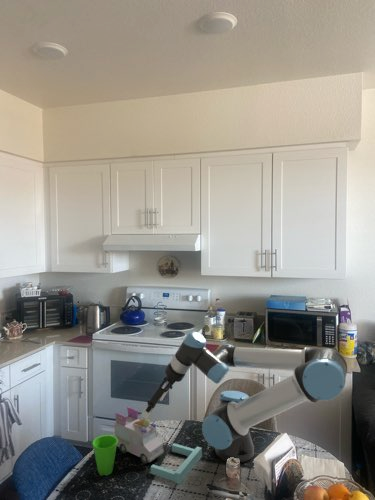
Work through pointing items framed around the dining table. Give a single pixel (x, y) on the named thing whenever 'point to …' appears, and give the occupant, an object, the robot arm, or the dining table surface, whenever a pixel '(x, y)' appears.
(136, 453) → the toy vehicle
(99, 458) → the cup
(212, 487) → the dining table surface
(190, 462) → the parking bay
